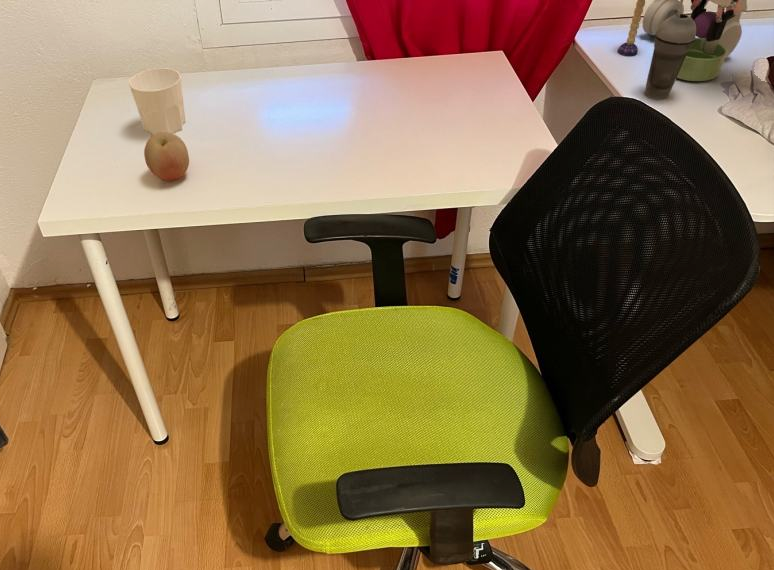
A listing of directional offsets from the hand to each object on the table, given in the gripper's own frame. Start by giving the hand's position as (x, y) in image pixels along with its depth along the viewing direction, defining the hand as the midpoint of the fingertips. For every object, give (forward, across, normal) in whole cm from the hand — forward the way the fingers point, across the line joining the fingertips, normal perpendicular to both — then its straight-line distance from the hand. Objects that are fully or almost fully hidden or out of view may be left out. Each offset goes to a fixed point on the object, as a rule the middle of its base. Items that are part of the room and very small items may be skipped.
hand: (702, 34), depth 141 cm
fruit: (+8, +8, +112) cm, 113 cm away
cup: (+8, +27, +109) cm, 113 cm away
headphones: (+8, +10, -7) cm, 14 cm away
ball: (-2, 0, 0) cm, 2 cm away
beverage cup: (+8, -5, +13) cm, 16 cm away
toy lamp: (+8, +14, +5) cm, 17 cm away
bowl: (+8, 0, 0) cm, 8 cm away
